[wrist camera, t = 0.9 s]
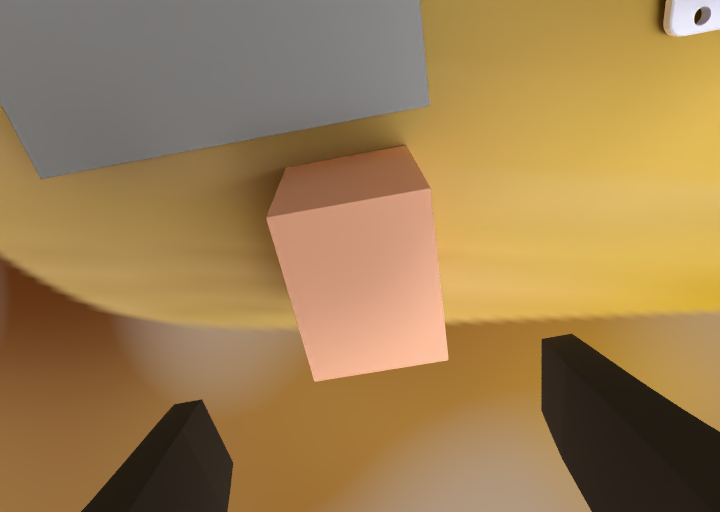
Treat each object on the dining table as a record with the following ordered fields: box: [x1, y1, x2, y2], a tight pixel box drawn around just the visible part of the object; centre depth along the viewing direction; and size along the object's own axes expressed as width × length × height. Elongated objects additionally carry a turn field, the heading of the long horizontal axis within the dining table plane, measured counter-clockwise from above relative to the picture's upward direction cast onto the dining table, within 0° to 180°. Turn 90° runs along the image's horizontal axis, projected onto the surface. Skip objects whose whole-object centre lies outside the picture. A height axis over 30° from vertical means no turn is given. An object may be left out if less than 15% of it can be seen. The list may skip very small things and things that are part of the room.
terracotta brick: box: [266, 145, 448, 381], centre depth 15 cm, size 4×6×5 cm
